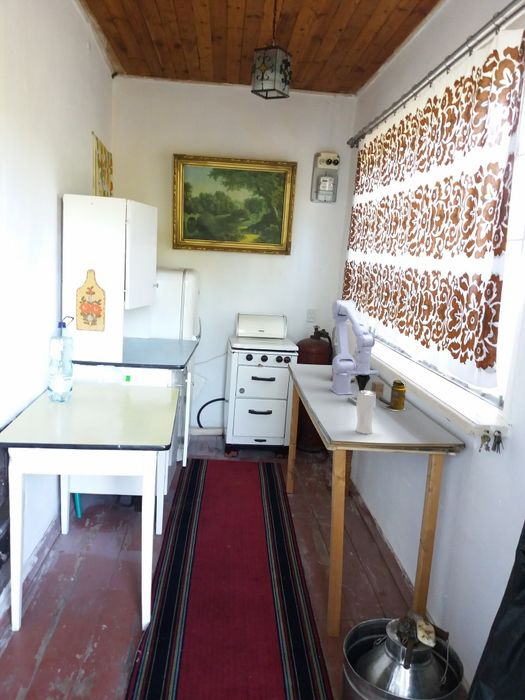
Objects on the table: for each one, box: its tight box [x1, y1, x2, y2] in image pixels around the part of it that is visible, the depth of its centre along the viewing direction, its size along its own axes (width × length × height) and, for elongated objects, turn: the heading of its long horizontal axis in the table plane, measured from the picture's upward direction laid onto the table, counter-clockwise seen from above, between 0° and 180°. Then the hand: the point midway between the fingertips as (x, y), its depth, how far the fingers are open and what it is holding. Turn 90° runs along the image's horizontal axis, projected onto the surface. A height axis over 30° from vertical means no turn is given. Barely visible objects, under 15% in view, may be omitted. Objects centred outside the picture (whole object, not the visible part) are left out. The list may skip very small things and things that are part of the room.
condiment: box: [382, 379, 407, 412], centre depth 228 cm, size 7×8×12 cm
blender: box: [330, 319, 357, 382], centre depth 271 cm, size 16×12×32 cm
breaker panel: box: [347, 395, 358, 407], centre depth 234 cm, size 10×8×2 cm
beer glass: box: [355, 390, 377, 435], centre depth 195 cm, size 7×7×15 cm
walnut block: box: [370, 381, 385, 400], centre depth 244 cm, size 4×4×7 cm
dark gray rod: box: [378, 397, 390, 405], centre depth 238 cm, size 9×1×1 cm, turn 16°
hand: (361, 391), depth 233 cm, fingers closed
